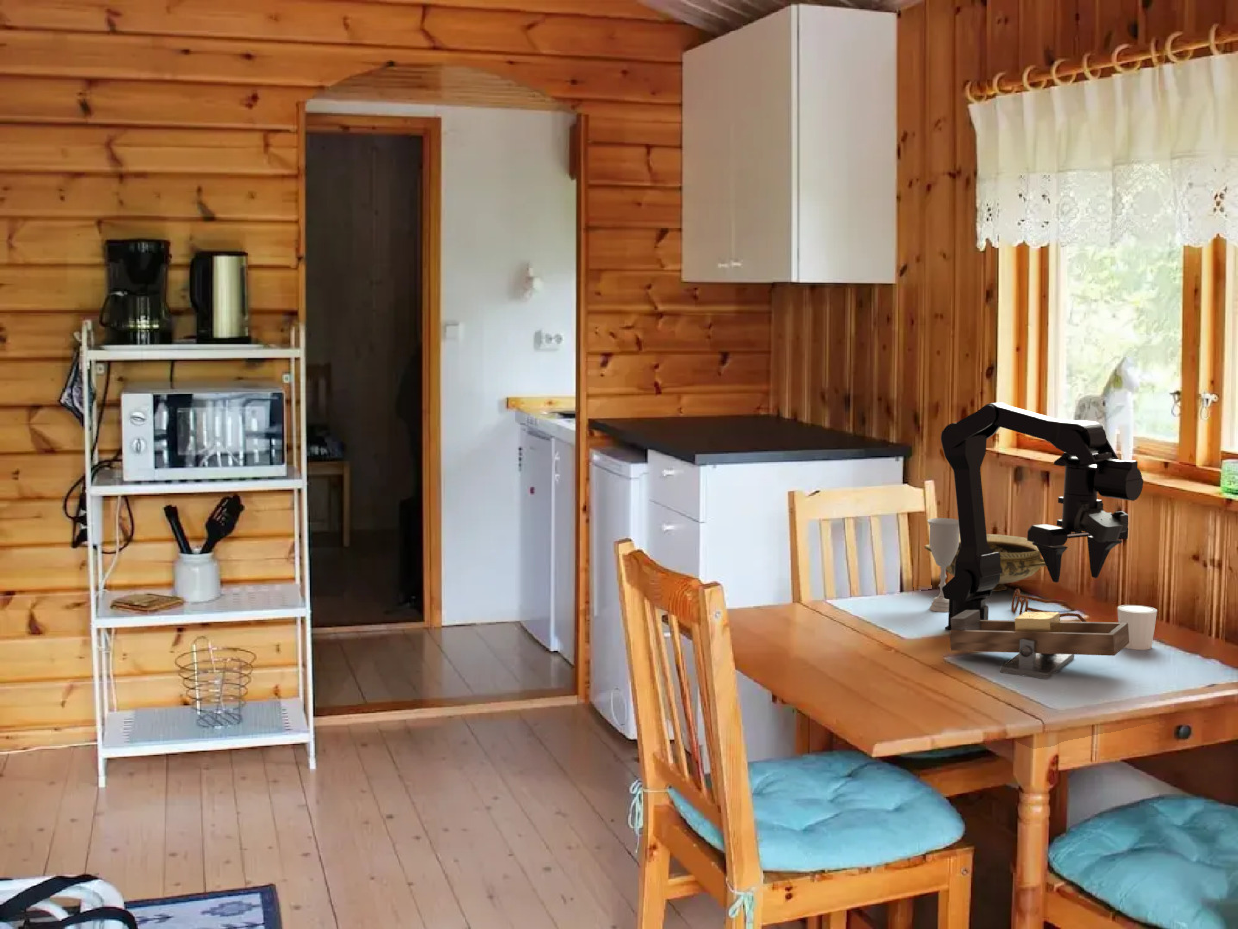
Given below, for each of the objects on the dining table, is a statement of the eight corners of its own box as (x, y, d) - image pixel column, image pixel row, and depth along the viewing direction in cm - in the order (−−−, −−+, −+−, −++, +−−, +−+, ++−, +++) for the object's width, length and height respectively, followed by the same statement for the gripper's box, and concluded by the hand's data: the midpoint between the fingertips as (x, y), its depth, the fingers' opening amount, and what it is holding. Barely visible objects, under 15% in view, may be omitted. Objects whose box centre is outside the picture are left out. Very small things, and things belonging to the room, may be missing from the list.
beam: (950, 650, 256) (948, 619, 256) (970, 638, 265) (967, 608, 264) (1114, 655, 241) (1112, 622, 241) (1129, 643, 250) (1127, 611, 249)
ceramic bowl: (1077, 588, 315) (1079, 542, 314) (1028, 607, 297) (1030, 559, 296) (950, 570, 335) (952, 527, 333) (897, 586, 317) (899, 541, 315)
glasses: (1009, 611, 296) (1010, 586, 296) (1075, 612, 295) (1076, 588, 294) (1021, 626, 283) (1022, 600, 283) (1091, 627, 282) (1092, 602, 281)
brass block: (1016, 641, 252) (1014, 618, 252) (1026, 634, 257) (1025, 611, 257) (1051, 642, 249) (1049, 619, 248) (1061, 635, 254) (1059, 612, 253)
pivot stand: (1000, 672, 249) (1001, 638, 248) (1028, 652, 262) (1030, 620, 261) (1047, 679, 245) (1048, 645, 244) (1073, 658, 258) (1075, 626, 257)
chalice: (962, 613, 292) (965, 524, 290) (928, 613, 292) (931, 524, 290) (955, 605, 299) (957, 518, 297) (921, 604, 299) (924, 518, 297)
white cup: (1150, 652, 262) (1152, 614, 261) (1111, 647, 266) (1113, 609, 265) (1159, 644, 268) (1161, 607, 267) (1120, 639, 271) (1122, 602, 271)
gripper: (1073, 503, 246) (1068, 594, 249) (1154, 497, 255) (1148, 584, 257) (1027, 493, 256) (1022, 581, 259) (1107, 487, 265) (1101, 572, 267)
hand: (1075, 579), depth 260 cm, fingers open, 9 cm apart
